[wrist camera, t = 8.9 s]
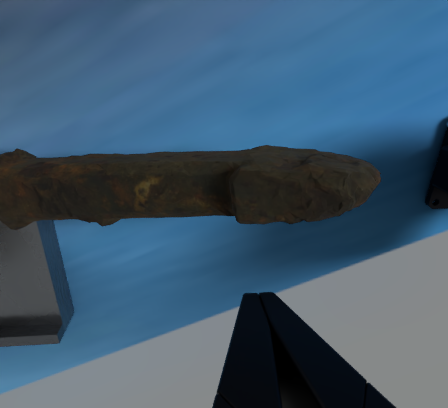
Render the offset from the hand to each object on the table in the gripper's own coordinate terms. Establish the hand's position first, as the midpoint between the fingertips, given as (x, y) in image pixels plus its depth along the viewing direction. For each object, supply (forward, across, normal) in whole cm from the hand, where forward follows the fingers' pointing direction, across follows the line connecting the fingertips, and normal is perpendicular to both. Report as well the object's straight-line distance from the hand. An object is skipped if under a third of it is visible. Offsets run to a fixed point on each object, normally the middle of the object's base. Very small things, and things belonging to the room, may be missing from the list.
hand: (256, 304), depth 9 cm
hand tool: (+10, +2, -1) cm, 11 cm away
